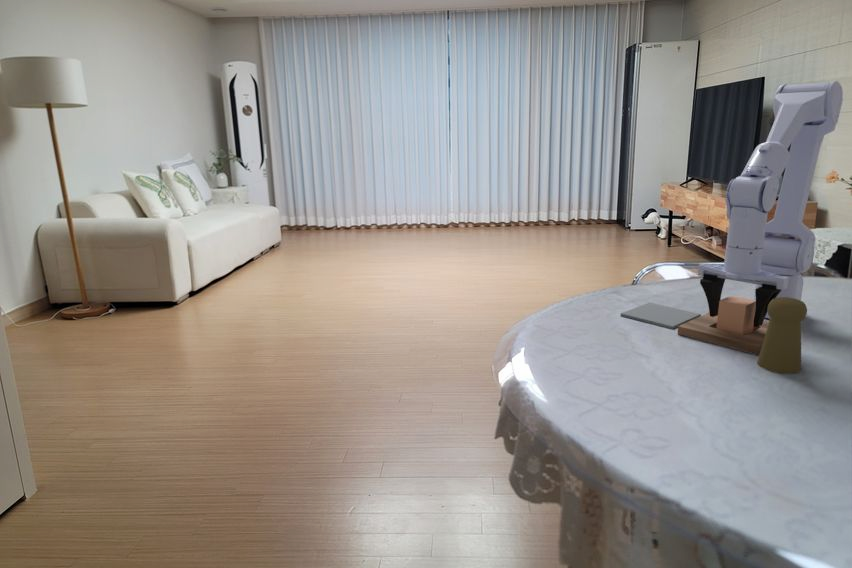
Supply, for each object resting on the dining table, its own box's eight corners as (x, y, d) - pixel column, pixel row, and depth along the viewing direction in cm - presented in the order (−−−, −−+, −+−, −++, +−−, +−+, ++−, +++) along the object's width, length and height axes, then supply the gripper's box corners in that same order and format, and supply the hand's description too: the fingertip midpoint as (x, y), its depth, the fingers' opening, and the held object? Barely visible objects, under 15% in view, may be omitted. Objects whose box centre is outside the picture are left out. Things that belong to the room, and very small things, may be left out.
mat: (649, 304, 126) (649, 302, 126) (700, 316, 118) (700, 314, 118) (620, 315, 119) (620, 313, 119) (672, 328, 111) (672, 326, 111)
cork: (808, 374, 90) (818, 305, 87) (764, 372, 91) (773, 303, 88) (792, 359, 96) (802, 294, 93) (751, 357, 97) (760, 293, 94)
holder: (713, 317, 117) (713, 310, 117) (791, 335, 107) (792, 327, 106) (677, 333, 108) (678, 326, 108) (758, 354, 98) (759, 346, 97)
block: (726, 329, 110) (730, 295, 109) (752, 335, 107) (756, 300, 105) (715, 334, 108) (719, 300, 106) (741, 341, 104) (745, 305, 103)
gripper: (692, 243, 106) (685, 315, 110) (780, 255, 95) (769, 335, 99) (711, 238, 110) (703, 308, 114) (797, 249, 100) (786, 326, 103)
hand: (735, 320), depth 107 cm, fingers open, 7 cm apart
